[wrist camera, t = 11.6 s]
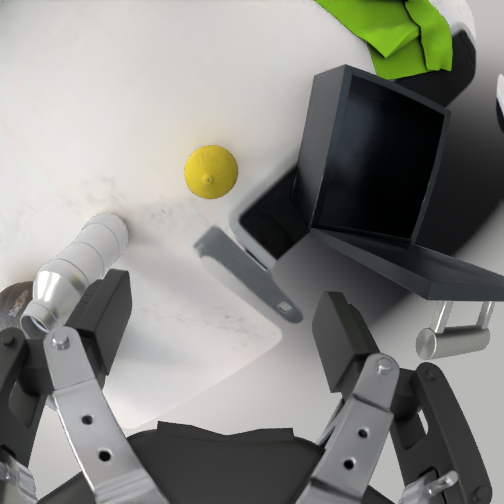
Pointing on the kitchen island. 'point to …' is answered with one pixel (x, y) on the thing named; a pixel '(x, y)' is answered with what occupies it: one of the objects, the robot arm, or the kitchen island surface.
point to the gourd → (9, 313)
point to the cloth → (397, 34)
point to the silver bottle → (73, 273)
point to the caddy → (368, 156)
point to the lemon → (211, 172)
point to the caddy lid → (428, 287)
